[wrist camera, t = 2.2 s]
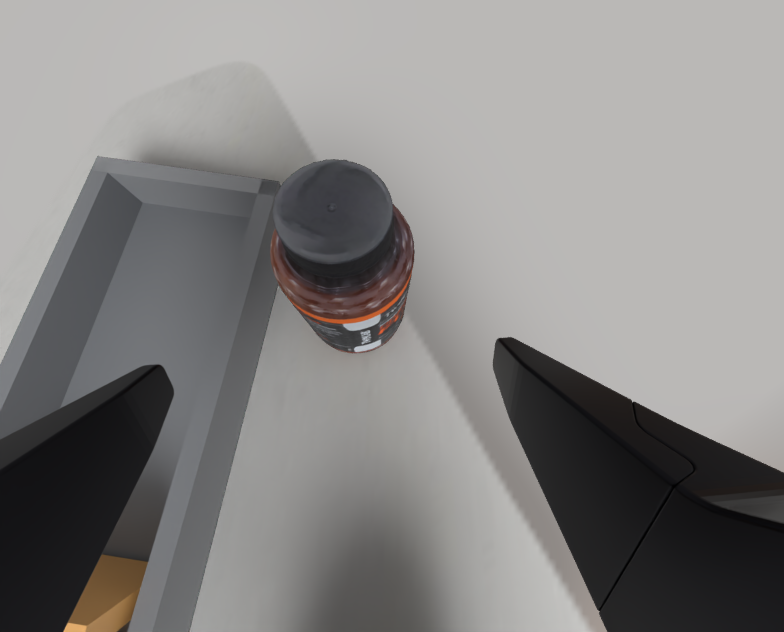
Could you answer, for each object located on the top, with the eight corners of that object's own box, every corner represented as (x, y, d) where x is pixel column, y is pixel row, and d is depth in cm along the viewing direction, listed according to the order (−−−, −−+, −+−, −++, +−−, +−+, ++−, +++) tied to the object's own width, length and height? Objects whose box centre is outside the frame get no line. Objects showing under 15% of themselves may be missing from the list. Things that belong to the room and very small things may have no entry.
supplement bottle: (396, 362, 21) (409, 309, 10) (302, 347, 21) (214, 279, 10) (409, 274, 23) (433, 147, 12) (322, 261, 23) (265, 122, 12)
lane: (176, 680, 16) (69, 818, 11) (-41, 643, 17) (-254, 760, 11) (294, 217, 24) (267, 156, 18) (141, 195, 24) (66, 129, 18)
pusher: (143, 661, 16) (40, 768, 11) (-30, 632, 16) (-205, 726, 11) (170, 565, 17) (87, 626, 12) (7, 539, 17) (-137, 588, 12)
